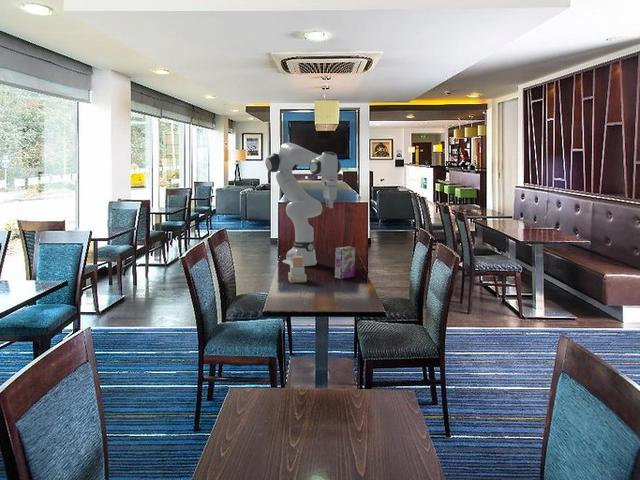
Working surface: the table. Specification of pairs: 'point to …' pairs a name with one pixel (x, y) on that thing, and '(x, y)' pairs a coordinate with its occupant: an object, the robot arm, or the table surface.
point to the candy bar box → (344, 262)
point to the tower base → (297, 278)
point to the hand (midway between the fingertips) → (329, 207)
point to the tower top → (296, 270)
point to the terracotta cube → (297, 261)
